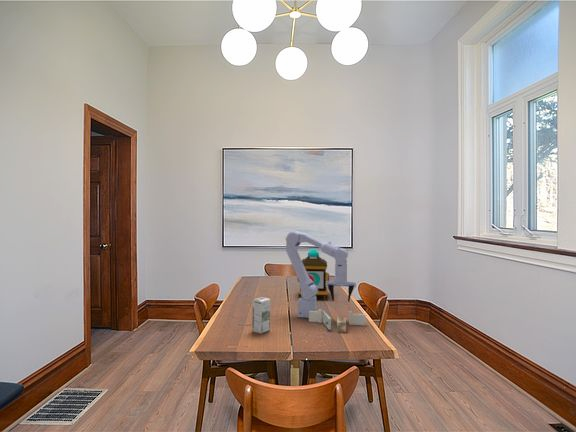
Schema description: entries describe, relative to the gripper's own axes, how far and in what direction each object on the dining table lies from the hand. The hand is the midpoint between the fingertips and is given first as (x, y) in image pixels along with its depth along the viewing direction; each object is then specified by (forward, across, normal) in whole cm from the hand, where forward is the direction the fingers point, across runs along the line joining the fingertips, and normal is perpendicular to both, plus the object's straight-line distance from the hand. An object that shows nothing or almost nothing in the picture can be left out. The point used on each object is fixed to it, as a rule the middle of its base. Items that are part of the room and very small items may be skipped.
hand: (340, 300), depth 166 cm
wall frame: (+9, -2, -6) cm, 11 cm away
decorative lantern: (+10, -19, +41) cm, 46 cm away
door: (+9, -7, -11) cm, 16 cm away
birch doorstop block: (+10, +1, -13) cm, 16 cm away
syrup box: (+10, -34, -23) cm, 42 cm away
